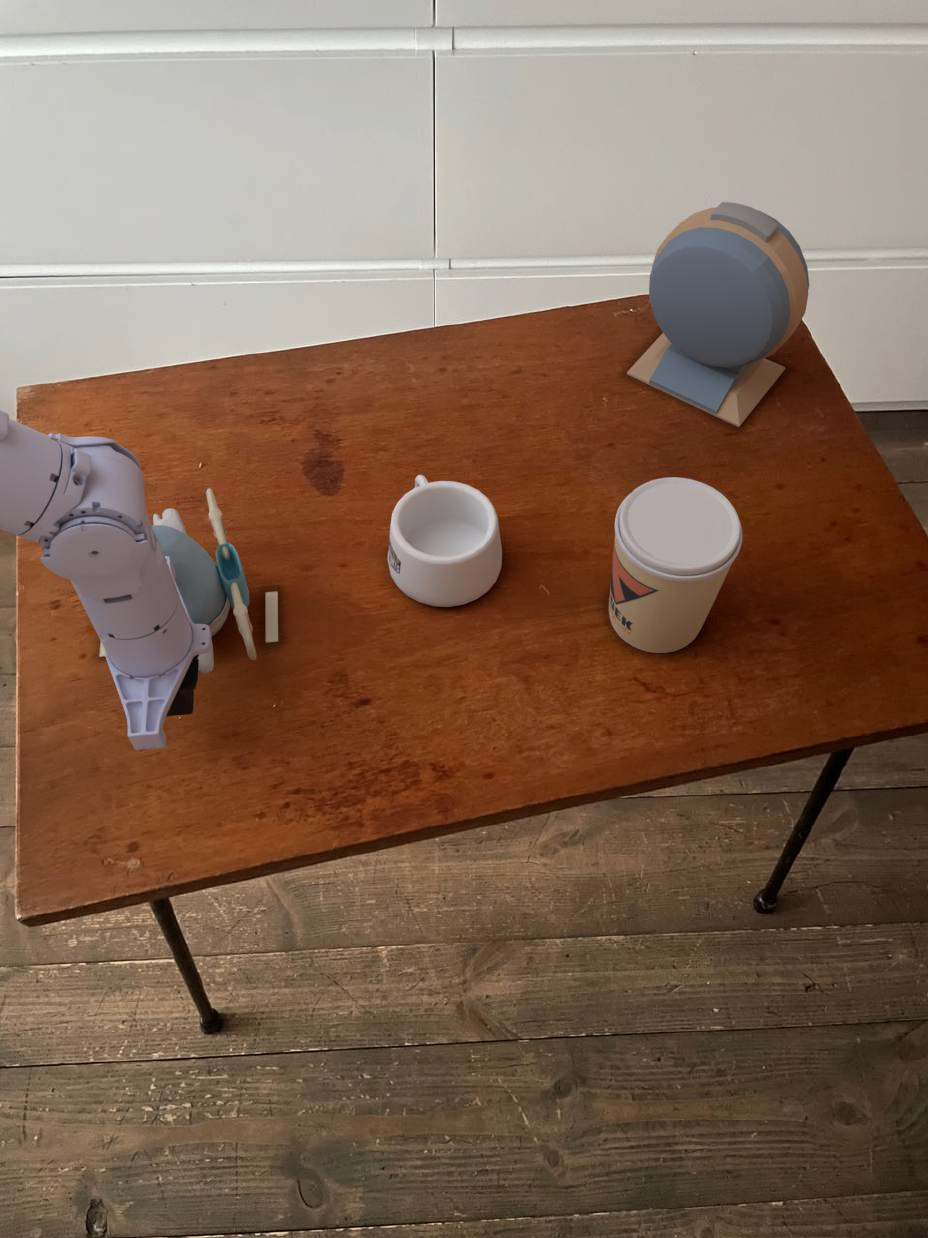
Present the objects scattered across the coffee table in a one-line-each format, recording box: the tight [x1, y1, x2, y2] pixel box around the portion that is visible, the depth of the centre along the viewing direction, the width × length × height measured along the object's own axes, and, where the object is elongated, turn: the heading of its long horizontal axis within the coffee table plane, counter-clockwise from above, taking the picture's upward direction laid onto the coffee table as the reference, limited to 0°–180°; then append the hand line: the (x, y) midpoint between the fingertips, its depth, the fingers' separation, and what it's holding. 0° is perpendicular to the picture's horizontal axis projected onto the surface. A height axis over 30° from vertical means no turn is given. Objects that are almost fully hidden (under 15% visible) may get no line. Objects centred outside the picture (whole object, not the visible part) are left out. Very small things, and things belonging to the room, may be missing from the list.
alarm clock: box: [626, 201, 810, 428], centre depth 97 cm, size 14×10×18 cm
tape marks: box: [98, 591, 279, 658], centre depth 87 cm, size 14×5×1 cm, turn 96°
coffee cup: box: [608, 476, 743, 654], centre depth 82 cm, size 9×9×12 cm
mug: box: [387, 474, 503, 608], centre depth 88 cm, size 12×10×6 cm
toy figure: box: [151, 487, 257, 675], centre depth 80 cm, size 17×10×15 cm, turn 18°
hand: (179, 708), depth 79 cm, fingers closed
